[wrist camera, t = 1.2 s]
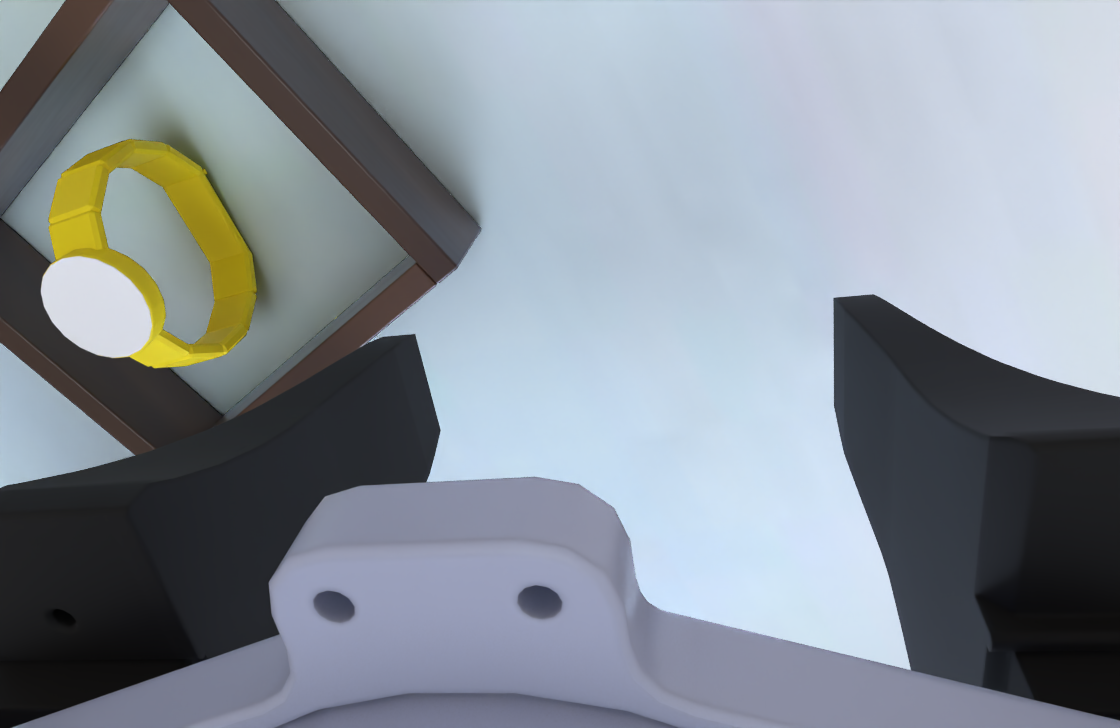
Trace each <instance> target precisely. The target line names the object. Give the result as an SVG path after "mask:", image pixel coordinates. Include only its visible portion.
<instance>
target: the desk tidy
mask: <svg viewBox="0 0 1120 728" xmlns="http://www.w3.org/2000/svg"><path fill="white" fill-rule="evenodd" d="M169 3H170V4H171V5H172V6H173V7H174V8H175V10H176V11H177V12H178V13H179V14H180V15H181V16H182V17H183V18H184V19H185V20H186V21H187V22H188V23H189V24H190V25H191V26H192V27H193V28H194V29H195V31H196V32H197V33H198V34H199V35H200V36H201V37H202V38H203V39H204V40H205V41H206V42H207V43H208V44H209V45H210V46H211V47H212V48H213V49H214V50H215V52H216V53H217V54H218V55H219V56H220V57H221V58H222V59H223V60H224V61H225V62H226V63H227V64H228V65H229V66H230V67H231V68H232V69H233V70H234V71H235V73H236V74H237V75H238V76H239V77H240V78H241V79H242V80H243V81H244V82H245V83H246V84H247V85H248V86H249V87H250V88H251V89H252V90H253V91H254V92H255V93H256V95H257V96H258V97H259V98H260V99H261V100H262V101H263V102H264V103H265V104H266V105H267V106H268V107H269V108H270V109H271V110H272V111H273V112H274V113H275V114H276V116H277V117H278V118H279V119H280V120H281V121H282V122H283V123H284V124H285V125H286V126H287V127H288V128H289V129H290V130H291V131H292V132H293V133H294V134H295V135H296V137H297V138H298V139H299V140H300V141H301V142H302V143H303V144H304V145H305V146H306V147H307V148H308V149H309V150H310V151H311V152H312V153H313V154H314V155H315V156H316V158H317V159H318V160H319V161H320V162H321V163H322V164H323V165H324V166H325V167H326V168H327V169H328V170H329V171H330V172H331V173H332V174H333V175H334V176H335V177H336V178H337V180H338V181H339V182H340V183H341V184H342V185H343V186H344V187H345V188H346V189H347V190H348V191H349V192H350V193H351V194H352V195H353V196H354V197H355V198H356V199H357V201H358V202H359V203H360V204H361V205H362V206H363V207H364V208H365V209H366V210H367V211H368V212H369V213H370V214H371V215H372V216H373V217H374V218H375V219H376V220H377V222H378V223H379V224H380V225H381V226H382V227H383V228H384V229H385V230H386V231H387V232H388V233H389V234H390V235H391V236H392V237H393V238H394V239H395V240H396V241H397V243H398V244H399V245H400V246H401V247H402V248H403V249H404V250H405V251H406V252H407V253H408V254H409V256H408V257H406V258H405V259H404V260H403V261H402V262H401V263H399V264H398V265H397V266H396V267H395V268H394V269H392V270H391V271H390V272H389V273H388V274H387V275H386V276H384V277H383V278H382V279H381V280H380V281H379V282H377V283H376V284H375V285H374V286H373V287H372V288H370V289H369V290H368V291H367V292H366V293H365V294H364V295H362V296H361V297H360V298H359V299H358V300H357V301H355V302H354V303H353V304H352V305H351V306H350V307H348V308H347V309H346V310H345V311H344V312H343V313H342V314H340V315H339V316H338V317H337V318H336V319H335V320H333V321H332V322H331V323H330V324H329V325H328V326H326V327H325V328H324V329H323V330H322V331H321V332H319V333H318V334H317V335H316V336H315V337H314V338H313V339H311V340H310V341H309V342H308V343H307V344H306V345H304V346H303V347H302V348H301V349H300V350H299V351H297V352H296V353H295V354H294V355H293V356H292V357H291V358H289V359H288V360H287V361H286V362H285V363H284V364H282V365H281V366H280V367H279V368H278V369H277V370H275V371H274V372H273V373H272V374H271V375H270V376H268V377H267V378H266V379H265V380H264V381H263V382H262V383H260V384H259V385H258V386H257V387H256V388H255V389H253V390H252V391H251V392H250V393H249V394H248V395H246V396H245V397H244V398H243V399H242V400H241V401H240V402H238V403H237V404H236V405H235V406H234V407H233V408H231V409H230V410H229V411H228V412H227V413H226V414H224V415H223V416H222V415H221V414H219V413H218V412H217V411H216V410H215V409H214V408H213V407H212V406H210V405H209V404H208V403H207V402H206V401H205V400H204V399H203V398H201V397H200V396H199V395H198V394H197V393H196V392H195V391H194V390H192V389H191V388H190V387H189V386H188V385H187V384H186V383H184V382H183V381H182V380H181V379H180V378H179V377H178V376H177V375H175V374H174V373H173V372H172V371H171V370H170V369H169V368H168V367H166V368H153V367H152V366H149V367H148V366H146V365H144V364H142V363H140V362H138V361H136V360H134V359H132V358H130V357H122V358H110V357H105V356H99V355H96V354H94V353H91V352H89V351H87V350H85V349H82V348H80V347H79V346H77V345H76V344H75V343H73V342H72V341H71V340H69V339H68V338H66V337H65V336H64V335H63V334H62V333H61V331H60V330H59V329H58V328H57V327H56V326H55V325H54V324H53V322H52V321H51V319H50V317H49V315H48V313H47V311H46V310H45V308H44V304H43V300H42V295H41V285H42V278H43V275H44V273H45V272H46V270H47V269H48V267H49V266H50V263H49V262H48V261H47V260H46V259H45V258H44V257H42V256H41V255H40V254H39V253H38V252H37V251H36V250H35V249H33V248H32V247H31V246H30V245H29V244H28V243H27V242H26V241H24V240H23V239H22V238H21V237H20V236H19V235H18V234H17V233H15V232H14V231H13V230H12V229H11V228H10V227H9V226H8V225H6V224H5V223H4V222H3V221H2V220H1V219H0V343H2V344H3V345H4V346H5V347H6V348H8V349H9V350H10V351H11V352H12V353H14V354H15V355H16V356H17V357H18V358H20V359H21V360H22V361H23V362H24V363H26V364H27V365H28V366H29V367H30V368H31V369H33V370H34V371H35V372H36V373H37V374H39V375H40V376H41V377H42V378H43V379H45V380H46V381H47V382H48V383H49V384H51V385H52V386H53V387H54V388H55V389H57V390H58V391H59V392H60V393H61V394H63V395H64V396H65V397H66V398H67V399H69V400H70V401H71V402H72V403H73V404H75V405H76V406H77V407H78V408H79V409H80V410H82V411H83V412H84V413H85V414H86V415H88V416H89V417H90V418H91V419H92V420H94V421H95V422H96V423H97V424H98V425H100V426H101V427H102V428H103V429H104V430H106V431H107V432H108V433H109V434H110V435H112V436H113V437H114V438H115V439H116V440H118V441H119V442H120V443H121V444H122V445H124V446H125V447H126V448H127V449H128V450H130V451H131V452H132V453H133V454H134V455H139V454H142V453H145V452H148V451H151V450H154V449H157V448H160V447H162V446H165V445H168V444H171V443H173V442H176V441H179V440H182V439H184V438H187V437H190V436H193V435H195V434H198V433H201V432H203V431H206V430H208V429H210V428H213V427H215V426H217V425H219V424H222V423H224V422H226V421H228V420H231V419H233V418H235V417H237V416H239V415H241V414H244V413H246V412H248V411H250V410H252V409H254V408H256V407H258V406H260V405H262V404H263V403H265V402H267V401H269V400H270V399H272V398H274V397H276V396H278V395H279V394H281V393H283V392H285V391H287V390H288V389H290V388H292V387H294V386H296V385H297V384H299V383H301V382H303V381H304V380H306V379H308V378H309V377H311V376H313V375H314V374H316V373H318V372H319V371H321V370H323V369H324V368H326V367H328V366H329V365H331V364H333V363H334V362H336V361H338V360H339V359H341V358H343V357H344V356H346V355H348V354H350V353H351V352H353V351H355V350H357V349H358V348H360V347H362V346H364V345H365V344H366V343H367V342H369V341H370V340H371V339H372V338H373V337H375V336H376V335H377V334H378V333H379V332H381V331H382V330H383V329H384V328H386V327H387V326H388V325H389V324H390V323H392V322H393V321H394V320H395V319H396V318H398V317H399V316H400V315H401V314H403V313H404V312H405V311H406V310H407V309H409V308H410V307H411V306H412V305H413V304H415V303H416V302H417V301H418V300H419V299H421V298H422V297H423V296H424V295H426V294H427V293H428V292H429V291H430V290H432V289H433V288H434V287H435V286H436V285H437V283H440V282H441V281H442V280H444V279H445V278H446V277H447V276H449V275H450V274H451V273H452V272H453V271H455V270H456V269H457V268H458V266H459V265H460V263H461V261H462V260H463V258H464V257H465V255H466V253H467V252H468V250H469V249H470V247H471V245H472V244H473V242H474V241H475V239H476V238H477V236H478V234H479V233H480V231H481V227H480V226H479V225H478V224H477V223H476V222H475V221H474V219H473V218H472V217H471V216H470V215H469V214H468V213H467V212H466V211H465V210H464V208H463V207H462V206H461V205H460V204H459V203H458V202H457V201H456V200H455V198H454V197H453V196H452V195H451V194H450V193H449V192H448V191H447V190H446V189H445V187H444V186H443V185H442V184H441V183H440V182H439V181H438V180H437V179H436V178H435V176H434V175H433V174H432V173H431V172H430V171H429V170H428V169H427V168H426V167H425V165H424V164H423V163H422V162H421V161H420V160H419V159H418V158H417V157H416V156H415V154H414V153H413V152H412V151H411V150H410V149H409V148H408V147H407V146H406V144H405V143H404V142H403V141H402V140H401V139H400V138H399V137H398V136H397V135H396V133H395V132H394V131H393V130H392V129H391V128H390V127H389V126H388V125H387V124H386V122H385V121H384V120H383V119H382V118H381V117H380V116H379V115H378V114H377V113H376V111H375V110H374V109H373V108H372V107H371V106H370V105H369V104H368V103H367V102H366V100H365V99H364V98H363V97H362V96H361V95H360V94H359V93H358V92H357V90H356V89H355V88H354V87H353V86H352V85H351V84H350V83H349V82H348V81H347V79H346V78H345V77H344V76H343V75H342V74H341V73H340V72H339V71H338V70H337V68H336V67H335V66H334V65H333V64H332V63H331V62H330V61H329V60H328V59H327V57H326V56H325V55H324V54H323V53H322V52H321V51H320V50H319V49H318V48H317V46H316V45H315V44H314V43H313V42H312V41H311V40H310V39H309V38H308V36H307V35H306V34H305V33H304V32H303V31H302V30H301V29H300V28H299V27H298V25H297V24H296V23H295V22H294V21H293V20H292V19H291V18H290V17H289V16H288V14H287V13H286V12H285V11H284V10H283V9H282V8H281V7H280V6H279V5H278V3H277V2H276V1H275V0H66V1H65V2H64V3H63V5H62V6H61V8H60V9H59V10H58V12H57V13H56V15H55V16H54V17H53V19H52V20H51V22H50V23H49V24H48V26H47V27H46V28H45V30H44V31H43V33H42V34H41V35H40V37H39V38H38V40H37V41H36V42H35V44H34V45H33V47H32V48H31V49H30V51H29V52H28V54H27V55H26V56H25V58H24V59H23V61H22V62H21V63H20V65H19V66H18V68H17V69H16V70H15V72H14V73H13V75H12V76H11V77H10V79H9V80H8V82H7V83H6V84H5V86H4V87H3V88H2V90H1V91H0V217H1V215H2V214H3V213H4V212H5V210H6V209H7V208H8V207H9V205H10V204H11V203H12V201H13V200H14V199H15V198H16V196H17V195H18V194H19V193H20V191H21V190H22V189H23V188H24V186H25V185H26V184H27V182H28V181H29V180H30V179H31V177H32V176H33V175H34V174H35V172H36V171H37V170H38V169H39V167H40V166H41V165H42V163H43V162H44V161H45V160H46V158H47V157H48V156H49V155H50V153H51V152H52V151H53V150H54V148H55V147H56V146H57V144H58V143H59V142H60V141H61V139H62V138H63V137H64V136H65V134H66V133H67V132H68V131H69V129H70V128H71V127H72V125H73V124H74V123H75V122H76V120H77V119H78V118H79V117H80V115H81V114H82V113H83V112H84V110H85V109H86V108H87V106H88V105H89V104H90V103H91V101H92V100H93V99H94V98H95V96H96V95H97V94H98V93H99V91H100V90H101V89H102V88H103V86H104V85H105V84H106V82H107V81H108V80H109V79H110V77H111V76H112V75H113V74H114V72H115V71H116V70H117V69H118V67H119V66H120V65H121V63H122V62H123V61H124V60H125V58H126V57H127V56H128V55H129V53H130V52H131V51H132V50H133V48H134V47H135V46H136V44H137V43H138V42H139V41H140V39H141V38H142V37H143V36H144V34H145V33H146V32H147V31H148V29H149V28H150V27H151V25H152V24H153V23H154V22H155V20H156V19H157V18H158V17H159V15H160V14H161V13H162V12H163V10H164V9H165V8H166V6H167V5H168V4H169Z"/></svg>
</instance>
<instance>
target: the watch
mask: <svg viewBox="0 0 1120 728" xmlns="http://www.w3.org/2000/svg"><path fill="white" fill-rule="evenodd" d="M115 168H132V169H133V170H135V171H137V172H138V173H140V174H142V175H143V176H145V177H147V178H148V179H150V180H152V181H153V182H155V183H157V184H158V185H160V186H162V187H163V189H164V190H165V192H166V193H167V195H168V197H169V198H170V200H171V201H172V203H173V205H174V206H175V208H176V209H177V211H178V213H179V214H180V216H181V217H182V219H183V221H184V222H185V224H186V225H187V227H188V229H189V230H190V232H191V233H192V235H193V237H194V238H195V240H196V241H197V243H198V245H199V246H200V248H201V249H202V251H203V253H204V254H205V256H206V257H207V259H208V261H209V262H210V268H211V276H212V284H213V293H214V301H215V302H214V306H213V310H212V313H211V317H210V320H209V324H208V328H207V331H206V334H205V335H203V336H202V337H201V338H200V339H199V340H198V341H197V342H196V343H195V344H187V343H185V342H183V341H182V340H180V339H178V338H177V337H175V336H173V335H172V334H170V333H168V332H166V331H165V330H163V326H164V322H165V318H166V312H165V305H164V299H163V297H162V295H161V293H160V290H159V288H158V286H157V284H156V283H155V281H154V280H153V279H152V278H151V276H150V275H149V274H148V273H147V272H146V270H145V269H144V268H143V267H141V266H140V265H139V264H137V263H136V262H135V261H134V260H132V259H131V258H129V257H128V256H126V255H124V254H121V253H119V252H117V251H115V250H113V249H109V248H108V244H107V239H106V235H105V230H104V226H103V221H102V217H101V210H102V206H103V201H104V196H105V191H106V186H107V182H108V177H109V173H111V172H112V171H113V170H114V169H115ZM205 174H207V172H206V170H205V168H204V169H202V167H201V166H199V165H198V164H196V163H195V162H193V161H192V160H190V159H189V158H187V157H186V156H184V155H183V154H181V153H180V152H178V151H177V150H175V149H174V148H172V147H171V146H169V145H168V144H167V145H166V144H164V143H163V142H157V141H146V140H135V139H128V140H126V141H125V140H124V141H121V142H119V143H116V144H113V145H111V146H108V147H105V148H103V149H100V150H97V151H95V152H92V153H89V154H87V155H86V156H84V157H83V158H82V159H80V160H79V161H78V162H76V163H75V164H74V165H72V166H71V167H70V168H69V169H67V170H66V171H65V172H63V173H62V174H61V178H60V179H58V182H57V186H56V190H55V194H54V198H53V202H52V206H51V210H50V214H49V218H48V220H49V223H50V226H49V232H50V236H51V241H52V245H53V250H54V254H55V259H56V261H55V262H53V263H52V264H50V266H49V267H48V269H47V270H46V272H45V273H44V275H43V278H42V285H41V295H42V300H43V304H44V308H45V310H46V311H47V313H48V315H49V317H50V319H51V321H52V322H53V324H54V325H55V326H56V327H57V328H58V329H59V330H60V331H61V333H62V334H63V335H64V336H65V337H66V338H68V339H69V340H71V341H72V342H73V343H75V344H76V345H77V346H79V347H80V348H82V349H85V350H87V351H89V352H91V353H94V354H96V355H99V356H105V357H110V358H122V357H130V358H132V359H134V360H136V361H138V362H140V363H142V364H144V365H146V366H148V367H149V366H152V367H153V368H166V367H181V366H189V365H192V364H196V363H199V362H203V361H207V360H210V359H214V358H218V357H221V356H222V355H226V354H227V353H228V352H229V351H230V350H231V349H232V348H233V347H234V346H235V345H236V344H237V343H238V342H239V341H240V340H241V339H243V338H244V337H245V336H246V334H247V331H248V330H249V327H250V323H251V318H252V314H253V310H254V306H255V302H256V298H257V296H256V295H255V294H256V292H257V287H256V279H255V271H254V263H253V256H252V253H251V252H250V250H249V248H248V247H247V245H246V243H245V242H244V240H243V238H242V236H241V235H240V233H239V231H238V230H237V228H236V226H235V225H234V223H233V221H232V220H231V218H230V216H229V215H228V213H227V211H226V209H225V208H224V206H223V204H222V203H221V201H220V199H219V198H218V196H217V194H216V193H215V191H214V189H213V188H212V186H211V184H210V182H209V181H208V179H207V177H206V176H205Z"/></svg>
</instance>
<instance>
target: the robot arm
mask: <svg viewBox="0 0 1120 728" xmlns="http://www.w3.org/2000/svg"><path fill="white" fill-rule="evenodd" d="M834 408H835V412H836V417H837V422H838V427H839V432H840V437H841V441H842V446H843V450H844V454H845V457H846V460H847V462H848V465H849V468H850V471H851V473H852V476H853V479H854V481H855V484H856V487H857V489H858V492H859V495H860V497H861V500H862V503H863V505H864V508H865V510H866V513H867V516H868V518H869V521H870V524H871V526H872V529H873V532H874V534H875V537H876V539H877V542H878V545H879V547H880V550H881V553H882V556H883V559H884V562H885V565H886V568H887V571H888V575H889V578H890V582H891V586H892V590H893V595H894V599H895V603H896V607H897V611H898V615H899V619H900V623H901V628H902V632H903V636H904V641H905V645H906V650H907V654H908V658H909V663H910V667H911V670H907V669H903V668H899V667H895V666H891V665H886V664H882V663H878V662H874V661H870V660H866V659H862V658H857V657H853V656H849V655H845V654H841V653H837V652H832V651H828V650H824V649H820V648H816V647H812V646H808V645H803V644H799V643H795V642H791V641H787V640H783V639H778V638H774V637H770V636H766V635H762V634H758V633H754V632H749V631H745V630H741V629H737V628H733V627H729V626H724V625H720V624H716V623H712V622H708V621H704V620H700V619H695V618H691V617H687V616H683V615H679V614H675V613H670V612H666V611H663V610H660V609H658V608H657V607H655V606H653V605H652V604H650V603H649V602H648V601H647V600H646V599H645V598H644V596H643V595H642V593H641V592H640V589H639V585H638V582H637V579H636V576H635V569H634V563H633V556H632V549H631V543H630V539H629V537H628V535H627V533H626V531H625V529H624V527H623V525H622V523H621V521H620V519H619V517H618V515H617V513H616V511H615V509H614V508H613V507H612V506H610V505H609V504H607V503H606V502H605V501H603V500H602V499H600V498H599V497H597V496H596V495H594V494H593V493H591V492H590V491H588V490H587V489H585V488H584V487H582V486H581V485H579V484H575V483H569V482H563V481H557V480H551V479H545V478H539V477H523V478H503V479H483V480H464V481H444V482H426V481H427V479H428V477H429V474H430V470H431V467H432V463H433V460H434V456H435V452H436V448H437V443H438V439H439V435H440V427H439V423H438V419H437V415H436V412H435V408H434V404H433V400H432V396H431V393H430V389H429V385H428V381H427V378H426V374H425V370H424V366H423V362H422V359H421V355H420V351H419V347H418V344H417V340H416V336H415V334H411V335H400V336H388V337H382V338H379V339H377V340H374V341H372V342H370V343H368V344H366V345H364V346H362V347H360V348H358V349H357V350H355V351H353V352H351V353H350V354H348V355H346V356H344V357H343V358H341V359H339V360H338V361H336V362H334V363H333V364H331V365H329V366H328V367H326V368H324V369H323V370H321V371H319V372H318V373H316V374H314V375H313V376H311V377H309V378H308V379H306V380H304V381H303V382H301V383H299V384H297V385H296V386H294V387H292V388H290V389H288V390H287V391H285V392H283V393H281V394H279V395H278V396H276V397H274V398H272V399H270V400H269V401H267V402H265V403H263V404H262V405H260V406H258V407H256V408H254V409H252V410H250V411H248V412H246V413H244V414H241V415H239V416H237V417H235V418H233V419H231V420H228V421H226V422H224V423H222V424H219V425H217V426H215V427H213V428H210V429H208V430H206V431H203V432H201V433H198V434H195V435H193V436H190V437H187V438H184V439H182V440H179V441H176V442H173V443H171V444H168V445H165V446H162V447H160V448H157V449H154V450H151V451H148V452H145V453H142V454H139V455H135V456H132V457H129V458H125V459H122V460H118V461H115V462H111V463H107V464H104V465H100V466H96V467H92V468H88V469H84V470H80V471H76V472H71V473H67V474H62V475H57V476H52V477H47V478H42V479H38V480H33V481H28V482H23V483H18V484H12V485H7V486H4V487H2V488H0V728H1120V397H1116V396H1112V395H1107V394H1102V393H1098V392H1094V391H1090V390H1086V389H1082V388H1078V387H1074V386H1071V385H1067V384H1063V383H1059V382H1056V381H1053V380H1049V379H1046V378H1043V377H1040V376H1037V375H1034V374H1031V373H1028V372H1026V371H1023V370H1020V369H1017V368H1015V367H1012V366H1009V365H1006V364H1004V363H1001V362H999V361H996V360H994V359H992V358H989V357H987V356H985V355H983V354H981V353H979V352H976V351H974V350H972V349H970V348H968V347H966V346H964V345H962V344H960V343H958V342H956V341H954V340H952V339H950V338H948V337H946V336H944V335H943V334H941V333H939V332H937V331H935V330H934V329H932V328H930V327H928V326H927V325H925V324H923V323H922V322H920V321H918V320H917V319H915V318H913V317H912V316H910V315H908V314H907V313H905V312H903V311H902V310H900V309H898V308H897V307H895V306H894V305H892V304H890V303H889V302H887V301H885V300H883V299H882V298H880V297H878V296H876V295H861V296H850V297H838V298H834Z"/></svg>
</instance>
